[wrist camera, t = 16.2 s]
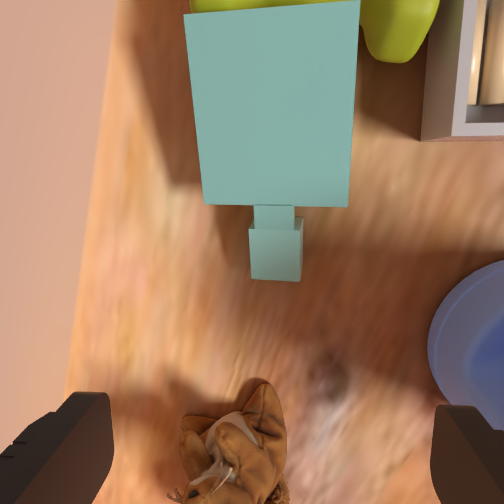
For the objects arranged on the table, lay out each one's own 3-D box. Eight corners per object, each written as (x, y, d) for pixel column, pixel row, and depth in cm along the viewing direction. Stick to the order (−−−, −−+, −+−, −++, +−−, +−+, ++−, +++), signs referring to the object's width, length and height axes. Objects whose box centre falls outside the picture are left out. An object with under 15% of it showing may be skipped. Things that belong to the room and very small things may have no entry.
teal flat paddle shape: (197, 17, 27) (183, 14, 25) (358, 5, 25) (360, -1, 23) (220, 261, 36) (211, 276, 33) (343, 267, 33) (343, 284, 31)
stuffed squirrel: (270, 372, 37) (264, 481, 24) (316, 493, 40) (332, 649, 27) (174, 400, 39) (120, 516, 26) (224, 515, 41) (199, 674, 28)
